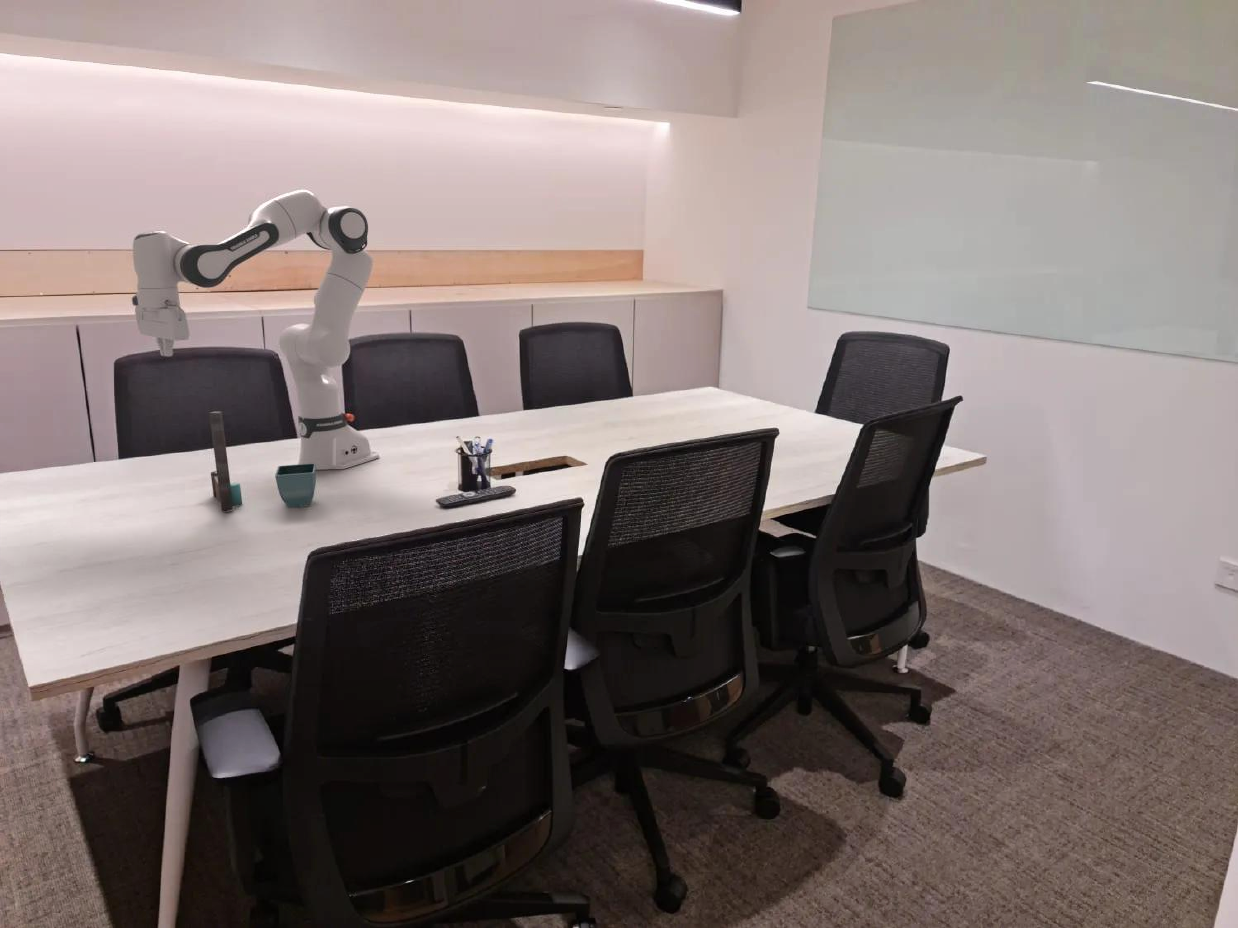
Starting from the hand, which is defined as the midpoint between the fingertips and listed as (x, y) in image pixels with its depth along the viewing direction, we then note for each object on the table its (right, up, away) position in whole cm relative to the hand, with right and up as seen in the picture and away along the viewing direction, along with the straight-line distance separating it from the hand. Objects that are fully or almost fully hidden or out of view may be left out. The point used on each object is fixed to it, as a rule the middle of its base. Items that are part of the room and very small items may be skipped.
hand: (167, 355), depth 221 cm
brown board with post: (+17, -36, -6) cm, 40 cm away
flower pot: (+35, -37, -5) cm, 51 cm away
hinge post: (+12, -35, +2) cm, 37 cm away
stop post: (+19, -37, -5) cm, 42 cm away
